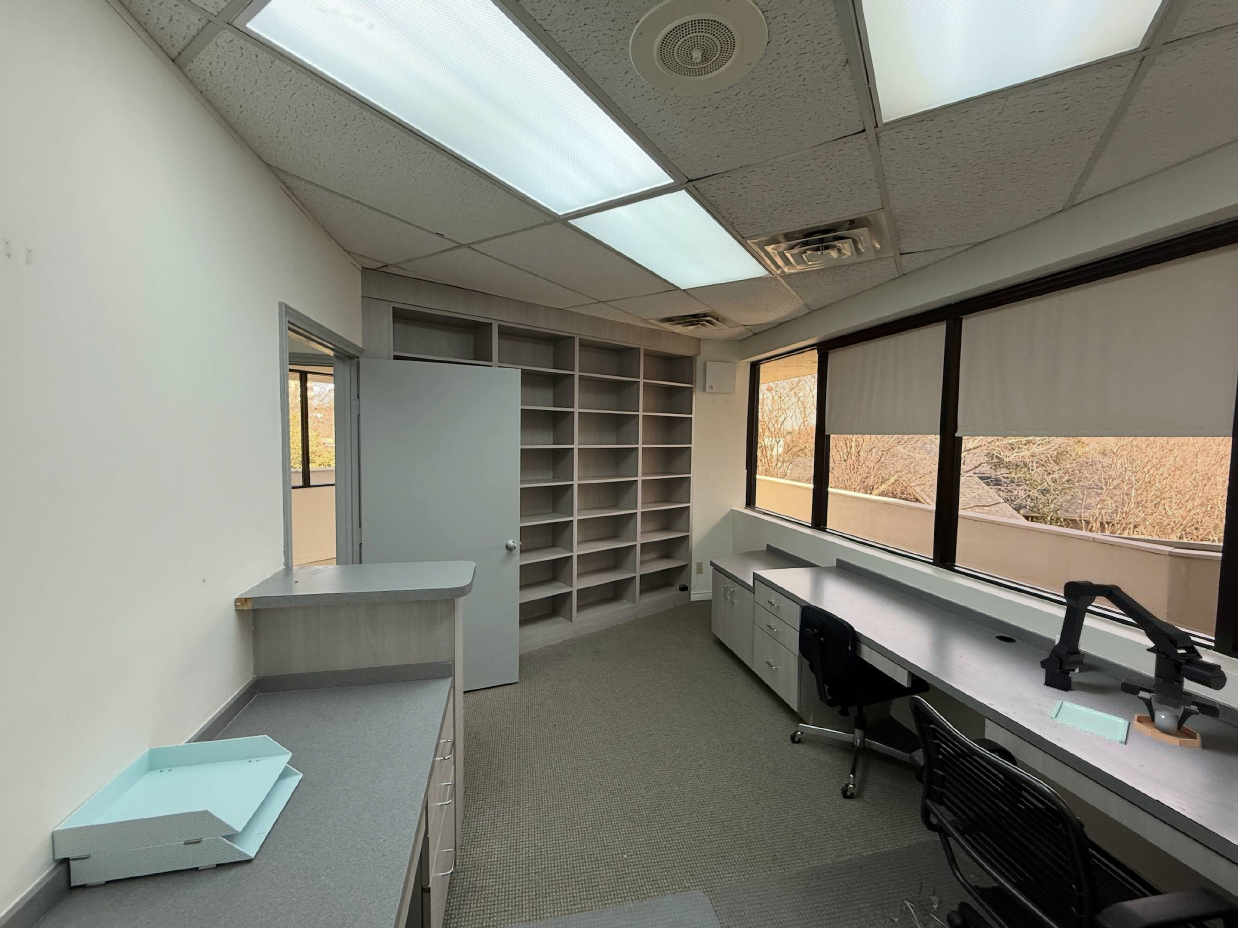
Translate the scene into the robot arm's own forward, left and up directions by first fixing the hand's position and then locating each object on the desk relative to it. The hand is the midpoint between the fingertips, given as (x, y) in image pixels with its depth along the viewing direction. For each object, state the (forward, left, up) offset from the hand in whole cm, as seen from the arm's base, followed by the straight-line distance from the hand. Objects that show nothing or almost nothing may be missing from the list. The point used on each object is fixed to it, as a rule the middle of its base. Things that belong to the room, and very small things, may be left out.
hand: (1165, 725), depth 141 cm
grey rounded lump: (0, 0, -1) cm, 1 cm away
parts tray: (-15, -7, -4) cm, 17 cm away
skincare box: (-25, +37, -4) cm, 45 cm away
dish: (0, +2, -4) cm, 5 cm away
